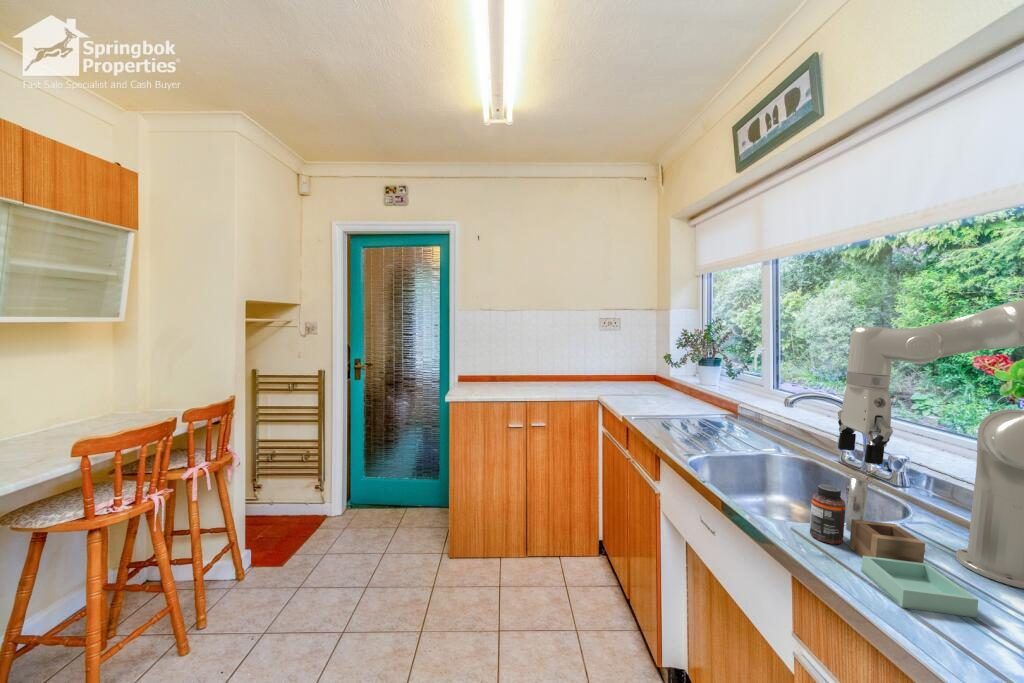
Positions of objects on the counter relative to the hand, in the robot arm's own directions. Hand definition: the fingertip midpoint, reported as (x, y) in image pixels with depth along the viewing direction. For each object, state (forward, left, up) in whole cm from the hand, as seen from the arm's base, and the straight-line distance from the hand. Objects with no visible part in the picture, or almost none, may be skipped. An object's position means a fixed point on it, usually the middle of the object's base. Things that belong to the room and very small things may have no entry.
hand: (859, 456), depth 98 cm
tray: (+4, +24, -17) cm, 30 cm away
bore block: (+2, +13, -17) cm, 22 cm away
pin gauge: (0, 0, -17) cm, 17 cm away
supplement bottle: (+9, +6, -17) cm, 20 cm away
